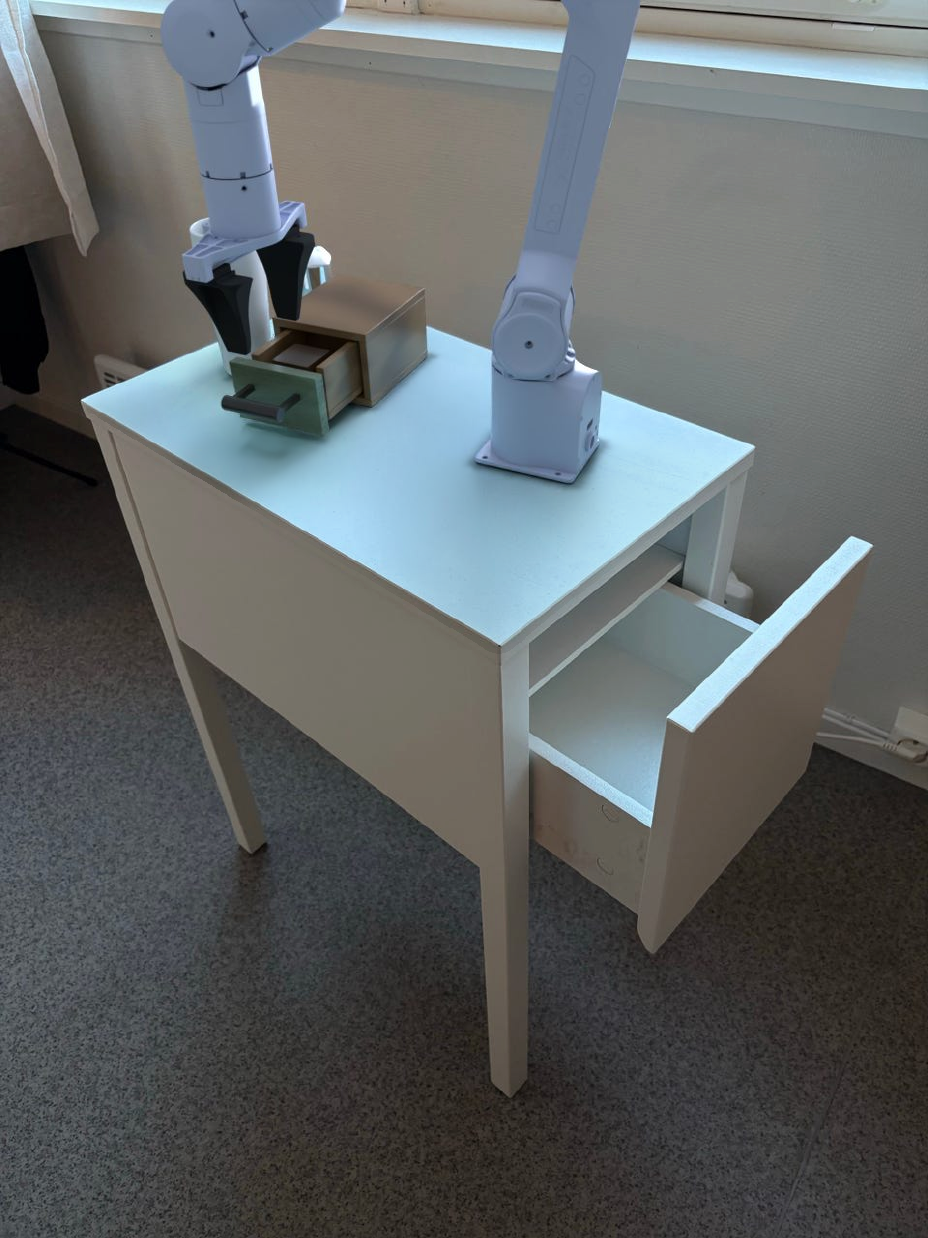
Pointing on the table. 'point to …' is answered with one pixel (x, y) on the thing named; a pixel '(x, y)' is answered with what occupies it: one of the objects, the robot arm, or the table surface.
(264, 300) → the drinking glass
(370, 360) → the cabinet
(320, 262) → the milkshake
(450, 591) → the table surface
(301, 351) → the block
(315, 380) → the drawer
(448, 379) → the table surface
